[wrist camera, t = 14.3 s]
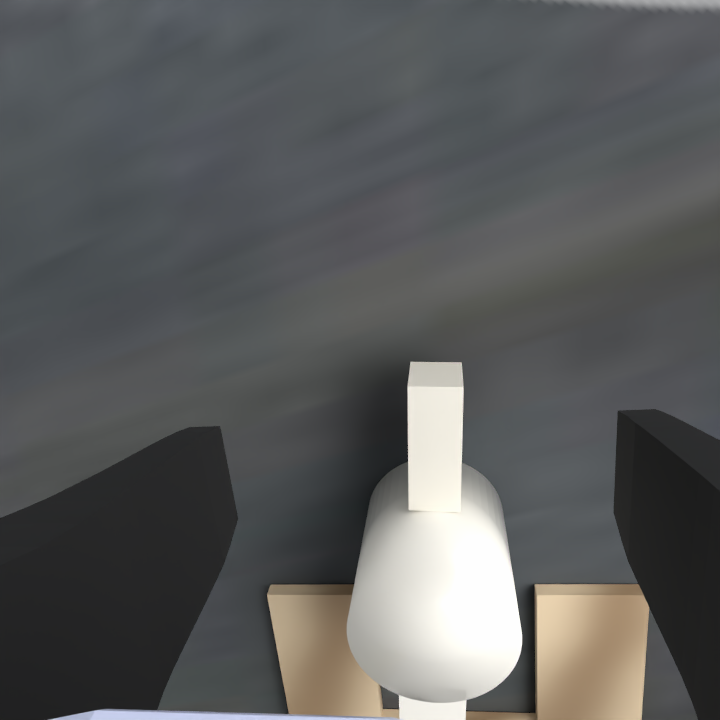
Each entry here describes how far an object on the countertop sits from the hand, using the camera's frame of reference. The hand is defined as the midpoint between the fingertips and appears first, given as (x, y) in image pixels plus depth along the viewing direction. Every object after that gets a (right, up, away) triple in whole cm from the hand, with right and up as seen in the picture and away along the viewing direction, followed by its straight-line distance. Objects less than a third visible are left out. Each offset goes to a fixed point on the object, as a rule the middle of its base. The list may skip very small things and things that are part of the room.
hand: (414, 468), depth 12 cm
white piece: (+2, -2, +12) cm, 12 cm away
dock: (+3, -12, +15) cm, 19 cm away
